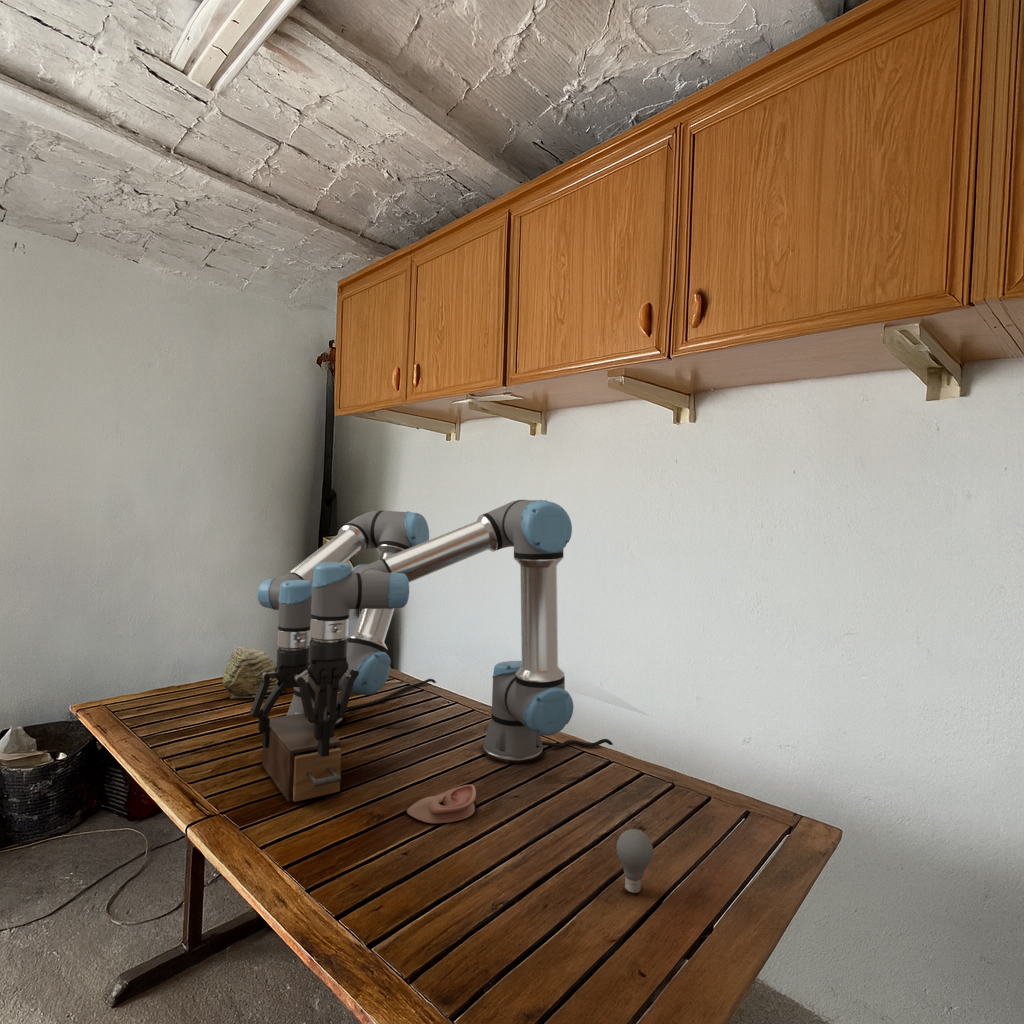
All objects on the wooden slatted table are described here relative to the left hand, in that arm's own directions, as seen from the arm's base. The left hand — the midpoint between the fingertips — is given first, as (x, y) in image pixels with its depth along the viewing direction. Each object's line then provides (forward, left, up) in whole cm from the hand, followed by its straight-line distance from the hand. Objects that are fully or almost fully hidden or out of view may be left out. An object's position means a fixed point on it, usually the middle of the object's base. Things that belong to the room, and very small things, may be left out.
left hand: (290, 740), depth 148 cm
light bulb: (-12, +83, -6) cm, 84 cm away
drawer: (+3, +12, -5) cm, 14 cm away
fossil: (-21, -54, -6) cm, 58 cm away
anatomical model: (-9, +41, -6) cm, 42 cm away
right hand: (+7, +22, +5) cm, 23 cm away
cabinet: (+2, +7, -6) cm, 9 cm away
